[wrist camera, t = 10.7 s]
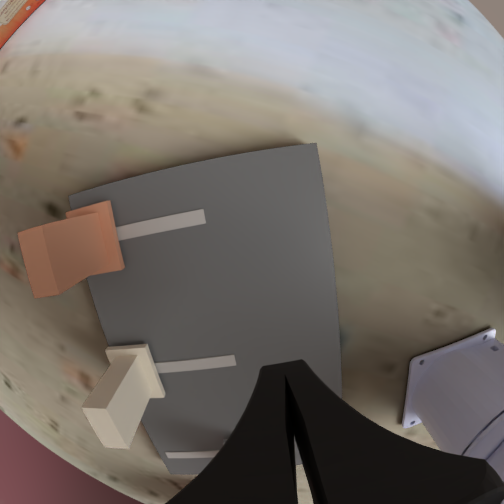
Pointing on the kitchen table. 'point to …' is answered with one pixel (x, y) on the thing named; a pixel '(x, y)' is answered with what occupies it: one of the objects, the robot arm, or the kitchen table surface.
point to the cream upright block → (123, 395)
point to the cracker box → (14, 15)
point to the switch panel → (220, 287)
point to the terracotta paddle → (71, 249)
